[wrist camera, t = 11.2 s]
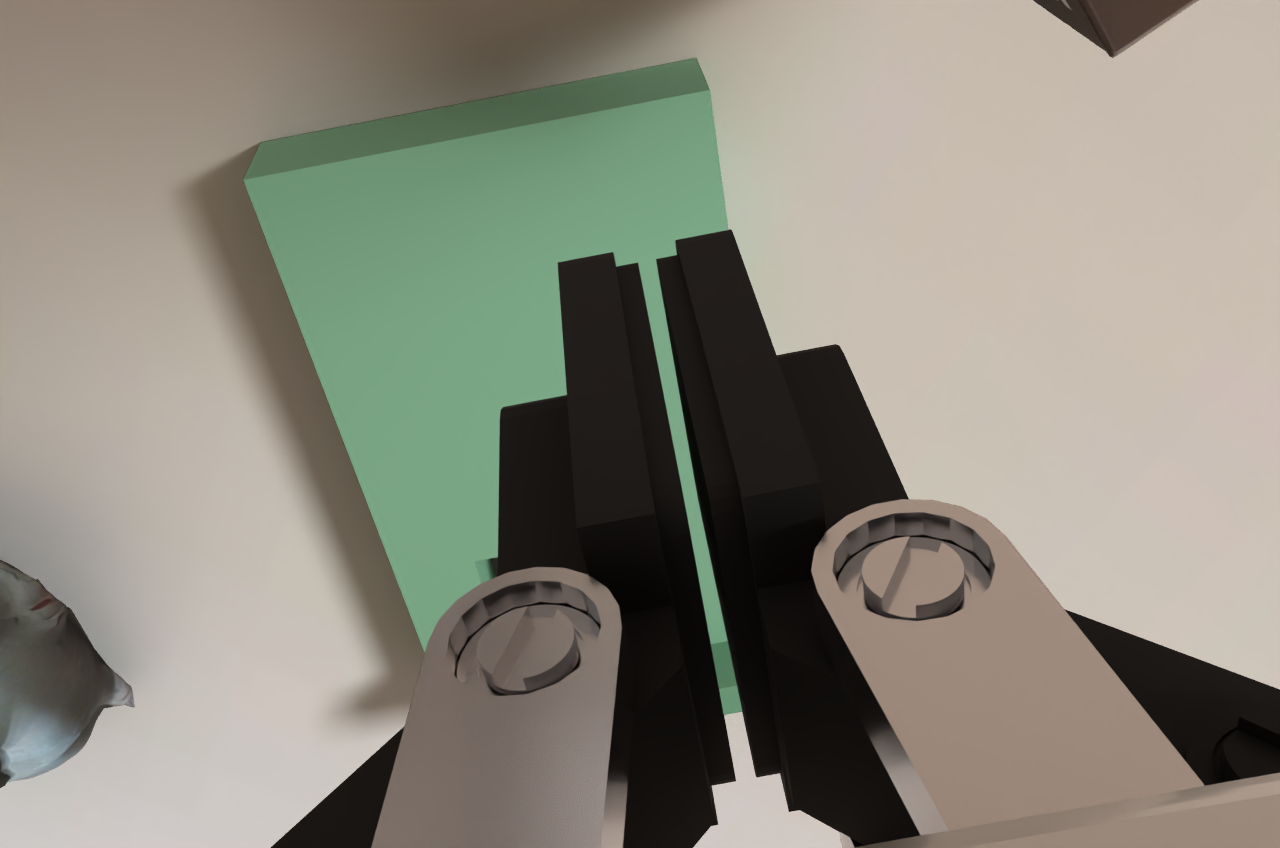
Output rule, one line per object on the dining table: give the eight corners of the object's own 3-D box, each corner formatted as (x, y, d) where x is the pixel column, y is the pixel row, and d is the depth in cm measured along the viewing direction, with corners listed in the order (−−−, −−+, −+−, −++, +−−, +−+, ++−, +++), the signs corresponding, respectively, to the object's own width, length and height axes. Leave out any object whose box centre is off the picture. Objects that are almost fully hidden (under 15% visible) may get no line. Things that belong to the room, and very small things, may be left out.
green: (696, 57, 37) (721, 118, 33) (772, 606, 51) (796, 701, 46) (260, 142, 37) (226, 214, 33) (452, 664, 51) (447, 765, 47)
